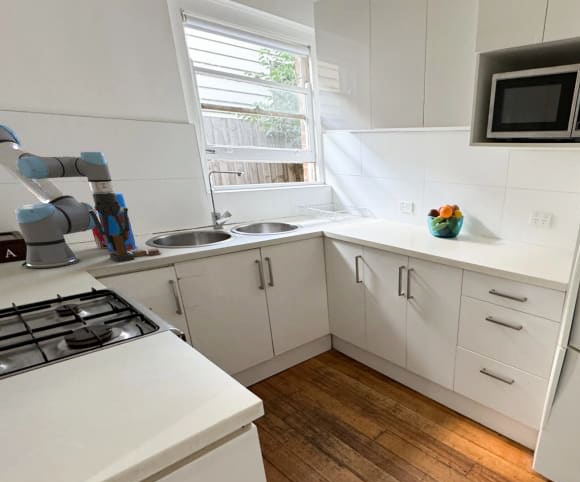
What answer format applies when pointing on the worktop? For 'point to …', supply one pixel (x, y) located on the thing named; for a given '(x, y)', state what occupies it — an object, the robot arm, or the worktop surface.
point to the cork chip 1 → (139, 253)
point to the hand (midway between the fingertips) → (119, 249)
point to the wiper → (120, 249)
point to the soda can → (99, 238)
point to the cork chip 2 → (153, 252)
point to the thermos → (114, 228)
